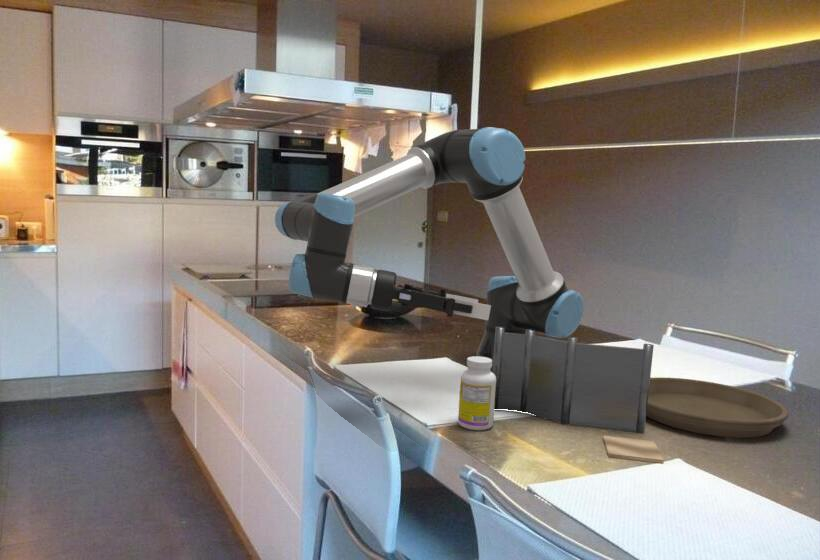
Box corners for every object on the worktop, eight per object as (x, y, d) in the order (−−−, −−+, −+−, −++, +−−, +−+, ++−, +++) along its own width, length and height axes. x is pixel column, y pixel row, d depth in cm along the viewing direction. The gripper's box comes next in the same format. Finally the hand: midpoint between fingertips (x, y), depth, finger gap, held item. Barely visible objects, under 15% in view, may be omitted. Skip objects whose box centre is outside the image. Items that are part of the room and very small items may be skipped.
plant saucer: (669, 387, 165) (671, 368, 164) (809, 424, 142) (812, 403, 141) (596, 409, 144) (598, 388, 143) (746, 456, 121) (749, 432, 121)
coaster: (602, 438, 125) (603, 435, 125) (653, 444, 124) (654, 441, 124) (608, 456, 117) (608, 453, 117) (663, 463, 115) (663, 459, 115)
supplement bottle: (470, 417, 133) (475, 353, 132) (499, 425, 129) (504, 359, 128) (450, 424, 128) (455, 358, 127) (479, 434, 124) (485, 365, 122)
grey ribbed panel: (489, 407, 140) (495, 326, 138) (640, 423, 135) (649, 339, 133) (488, 416, 134) (494, 331, 132) (645, 433, 130) (654, 346, 127)
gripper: (368, 302, 140) (468, 321, 142) (369, 314, 115) (491, 337, 117) (375, 266, 140) (475, 286, 141) (377, 270, 115) (499, 294, 117)
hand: (483, 309), depth 129 cm, fingers open, 13 cm apart
